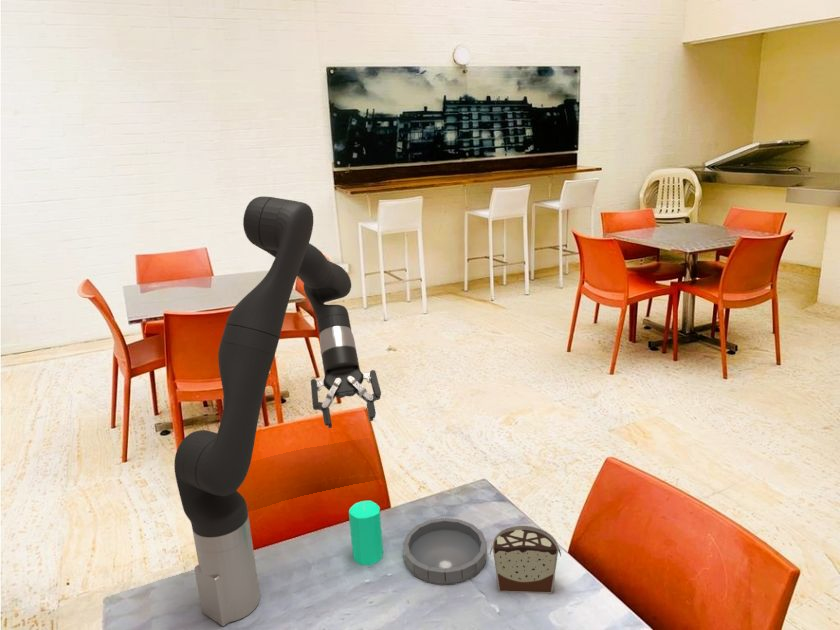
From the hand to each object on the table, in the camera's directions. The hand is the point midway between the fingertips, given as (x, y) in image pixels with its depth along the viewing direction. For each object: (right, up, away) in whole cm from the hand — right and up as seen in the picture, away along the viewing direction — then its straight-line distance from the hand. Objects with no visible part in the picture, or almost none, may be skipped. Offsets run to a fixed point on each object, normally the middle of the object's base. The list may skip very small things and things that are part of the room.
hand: (351, 423), depth 122 cm
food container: (+33, -27, -13) cm, 44 cm away
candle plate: (+19, -25, -5) cm, 32 cm away
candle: (+4, -26, -4) cm, 26 cm away
